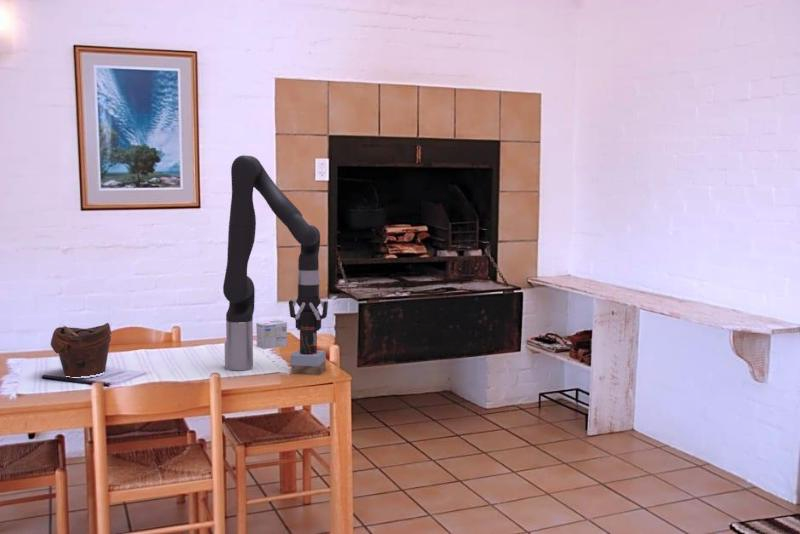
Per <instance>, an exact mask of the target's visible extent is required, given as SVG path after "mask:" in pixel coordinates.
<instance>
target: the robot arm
mask: <svg viewBox="0 0 800 534" xmlns="http://www.w3.org/2000/svg"><path fill="white" fill-rule="evenodd" d="M230 169H231V170H230V171H231V172H230V174H231V175H230V176H231V199H230V200H231V201H230V210H229V211H230V212H229V220H228V234H227V235H228V237H227V238H228V239H227V257H226V258H227V259H226V260H227V261H226V267H225V275H224V279H223V285H222V290H223V291H222V293H223V295H224V297H225V299H226V300H227V301H228V309H227V311H226V315H225V318H226V319H225V322H226V323H225V324H226V326H225V328H226V331H225V332H226V333H225V334H226V335H225V336H226V341H225V342H224V369H225V370H229V371H240V372H241V371H248V370H252V369H253V368H254V332H253V331H254V330H253V327H254V324H253V323H254V322H253V320H254V319H253V317H254V311H255V297H256V295H255V293H256V291H255V285H254V282H253V280H252V278H250V277H249V276H248V266H249V265H248V264H249V260H250V257H251V254H252V250H253V248H254V244H255V240H256V227H257V217H256V212H255V211H256V210H255V206H254V201H253V200H254V198H253V195H254V194H253V193H254V189H255V190H256V191H258V193H259V194H260V195H261V197H262V198H263V200H265V202H266V204H267V205H268V207H269V209H271V211H272V212H273V213H274V215H275V216H276V217H277V218H278V219H279V221H281V222H282V224H284V226H286V228H287V229H288V231H289V232H290V234H291V235H292V236H293V238H294V239H295V240H296V241H297V242H298V244H299V245H300V252H299V256H298V267H297V268H298V271H297V298H296V299H290V300H289V301H288V307H289V308H288V310H289V317H290V318H293V319H294V320H295V328H296V330H297V331H300V314H301V312H302V311H309V312H312V311H313V312H314V315H315V316H316V318H317V320H316V331H320V329H322V320H323V319H325V318H327V316H328V309H329V308H328V307H329V301H328V300H321V298H320V281H321V280H320V273H319V272H320V271H319V270H320V269H319V266H320V264H319V263H320V262H319V252H320V246H321V245H320V244H321V233H320V230H319V229H318V228H317V227H316V226H315V225H311V224H309V223H308V222H307V221H306V219H304V218H303V213H301V211H300V210H299V209H298V208H297V207H296V205H294V203H293V202H292V201H291V200H290V199H289V198H288V197H287V196H286V195H285V193H283V191H281V189H280V188H279V187H278V186H277V184H276V183H275V182H274V181H273V180H272V178H271V177H270V176H269V174H268V172H267V171H266V170H265V168H264V166H263V164H262V163H261V162H260V160H259V159H258V158H257V157H255V156H252V155H245V154H243V155H239V156H237V157H236V158H235V159H234V160H233V162H232V164H231V166H230ZM296 305H297V306H298V307H299V309H298V311H297V313H296V310H295V307H296ZM319 306H321V308H322V314H321V313H320V310H319Z"/></svg>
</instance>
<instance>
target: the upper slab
mask: <svg viewBox="0 0 800 534" xmlns="http://www.w3.org/2000/svg"><path fill="white" fill-rule="evenodd" d="M326 353H327V352H326V350H319V349H317V353H316V354H311V355H304V354H300V349H297V350H296V351H294V352H293V353H292V354H290V357H289V358H290V359H289V361H290V366H292V365H298V366H319V365H321V364H322V363H323V362H324V361H325V360H326V359H327V358H326V355H327V354H326Z"/></svg>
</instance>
